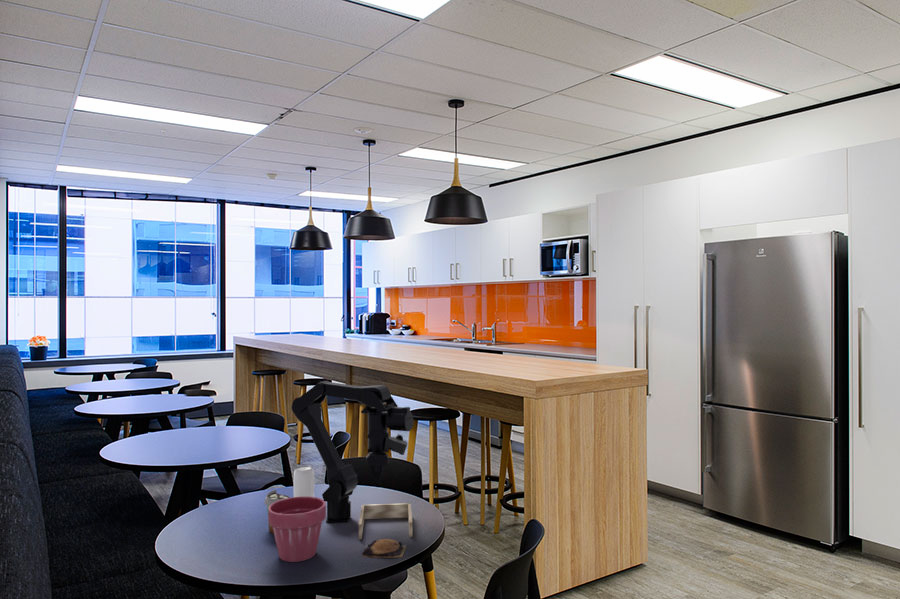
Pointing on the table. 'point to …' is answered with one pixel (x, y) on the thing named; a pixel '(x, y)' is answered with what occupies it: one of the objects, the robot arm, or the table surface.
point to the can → (304, 481)
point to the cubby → (385, 513)
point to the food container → (271, 499)
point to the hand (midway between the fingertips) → (378, 482)
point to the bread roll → (384, 549)
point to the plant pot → (297, 526)
